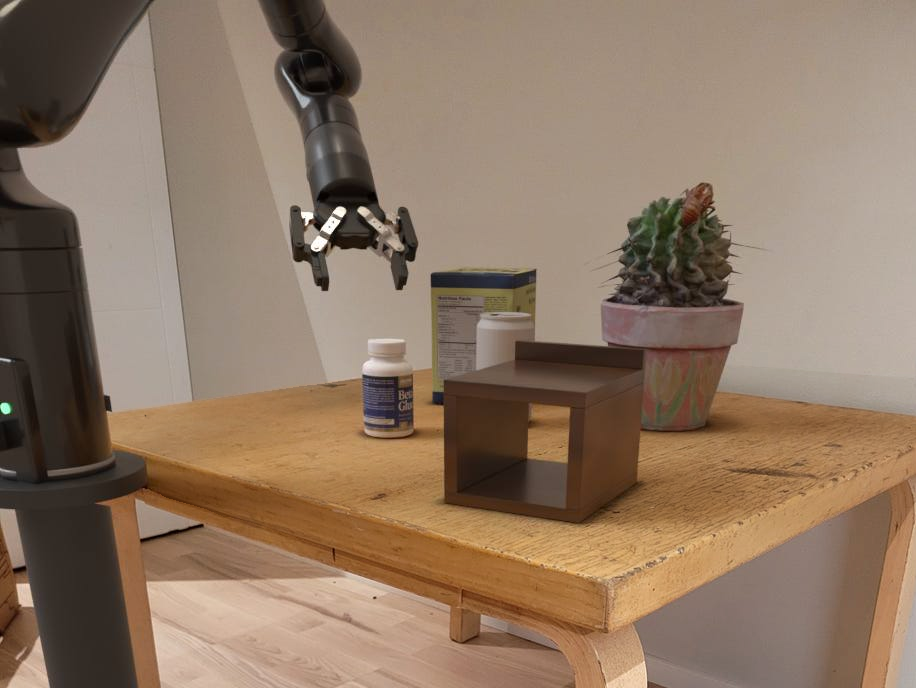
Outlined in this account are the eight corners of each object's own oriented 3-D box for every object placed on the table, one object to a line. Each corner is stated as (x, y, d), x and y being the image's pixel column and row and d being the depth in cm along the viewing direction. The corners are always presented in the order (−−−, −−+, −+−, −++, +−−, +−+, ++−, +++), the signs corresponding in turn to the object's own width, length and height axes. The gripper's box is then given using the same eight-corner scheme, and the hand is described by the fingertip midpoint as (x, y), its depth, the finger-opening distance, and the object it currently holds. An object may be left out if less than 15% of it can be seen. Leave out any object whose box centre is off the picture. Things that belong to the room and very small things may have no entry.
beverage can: (490, 415, 114) (491, 309, 109) (540, 421, 111) (543, 312, 106) (466, 425, 108) (466, 314, 103) (517, 431, 106) (520, 317, 101)
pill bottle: (407, 439, 101) (405, 344, 97) (358, 437, 102) (354, 342, 98) (419, 429, 106) (417, 338, 102) (372, 427, 107) (368, 336, 103)
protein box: (534, 388, 132) (538, 267, 126) (512, 408, 118) (514, 273, 112) (460, 385, 134) (460, 265, 128) (430, 404, 120) (428, 271, 114)
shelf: (578, 523, 74) (586, 370, 70) (444, 502, 79) (443, 358, 75) (636, 482, 86) (646, 348, 81) (515, 467, 91) (518, 339, 86)
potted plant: (656, 400, 124) (673, 187, 113) (775, 427, 109) (807, 184, 98) (544, 414, 114) (552, 183, 104) (657, 446, 100) (679, 180, 89)
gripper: (280, 147, 107) (302, 262, 102) (403, 150, 111) (430, 261, 106) (277, 200, 114) (298, 310, 109) (394, 201, 118) (419, 307, 113)
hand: (363, 285), depth 108 cm, fingers open, 8 cm apart
